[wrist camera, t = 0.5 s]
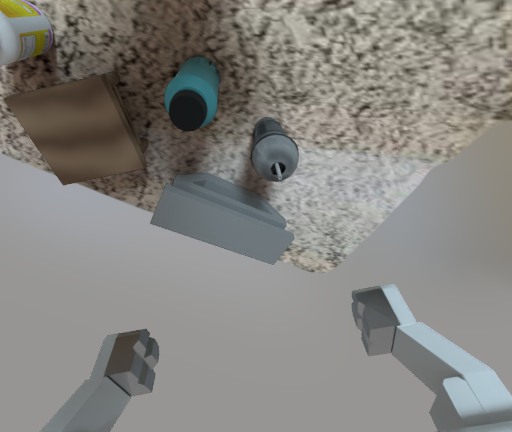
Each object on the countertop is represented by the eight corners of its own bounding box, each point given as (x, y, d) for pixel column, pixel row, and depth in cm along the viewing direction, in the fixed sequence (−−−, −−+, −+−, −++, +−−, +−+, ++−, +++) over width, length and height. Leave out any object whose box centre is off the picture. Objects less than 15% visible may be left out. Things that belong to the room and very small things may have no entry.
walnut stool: (34, 85, 46) (3, 98, 40) (118, 65, 45) (100, 76, 39) (82, 163, 54) (63, 185, 48) (154, 148, 54) (144, 168, 47)
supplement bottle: (-9, 3, 40) (-93, 4, 29) (37, -6, 39) (-31, -8, 29) (22, 57, 44) (-42, 75, 33) (64, 49, 43) (13, 65, 33)
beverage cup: (254, 153, 56) (264, 215, 40) (241, 117, 51) (246, 171, 35) (291, 140, 55) (316, 199, 39) (280, 103, 50) (303, 151, 34)
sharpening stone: (285, 205, 63) (294, 238, 55) (267, 230, 67) (273, 264, 59) (174, 158, 55) (164, 188, 46) (162, 190, 59) (150, 223, 50)
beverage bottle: (174, 83, 47) (145, 126, 31) (191, 43, 44) (168, 68, 28) (210, 104, 50) (200, 154, 34) (228, 68, 46) (228, 104, 30)
